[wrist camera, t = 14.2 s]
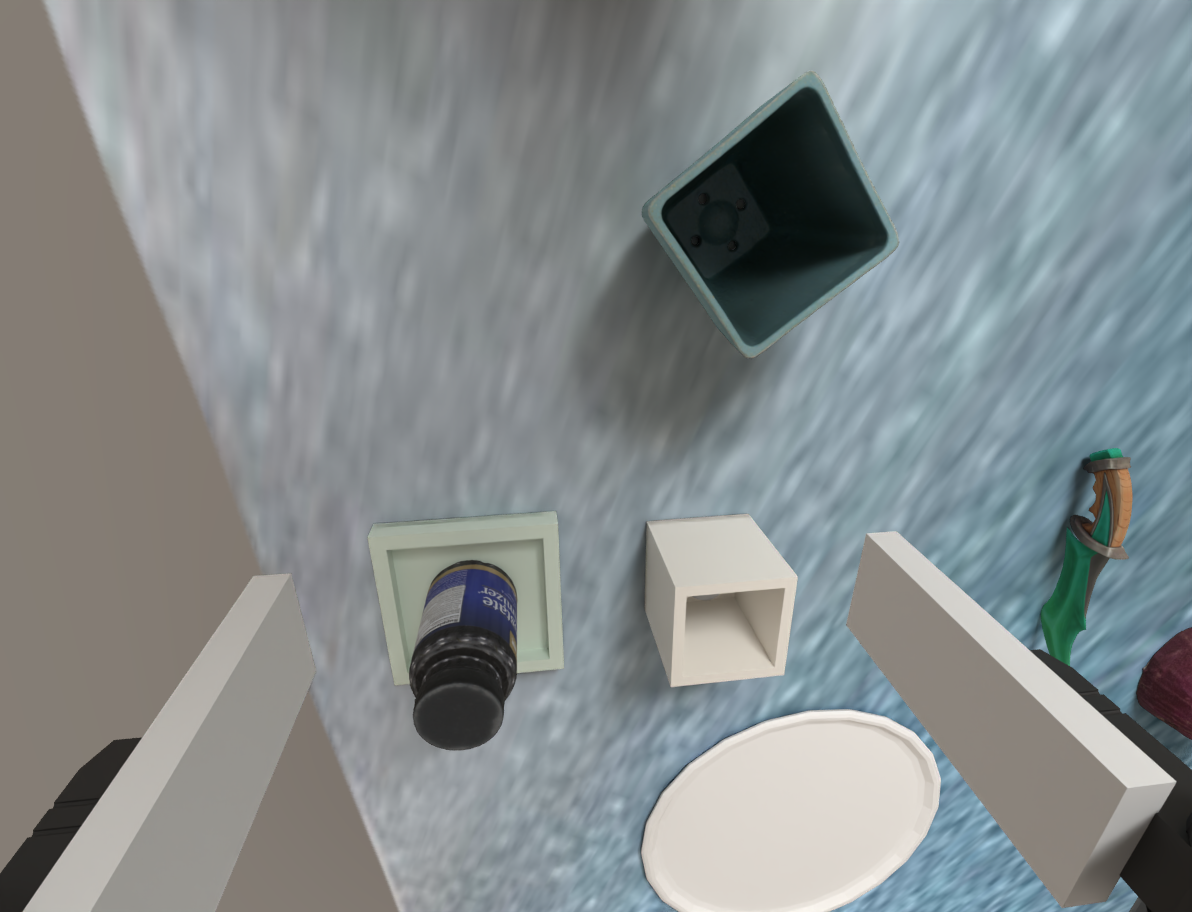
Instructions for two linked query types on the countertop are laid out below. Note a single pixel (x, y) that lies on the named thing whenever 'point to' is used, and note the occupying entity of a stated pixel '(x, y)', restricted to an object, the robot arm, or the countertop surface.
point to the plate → (792, 815)
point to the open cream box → (717, 599)
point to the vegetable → (1170, 684)
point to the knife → (1089, 551)
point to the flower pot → (774, 218)
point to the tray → (430, 546)
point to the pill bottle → (465, 655)
